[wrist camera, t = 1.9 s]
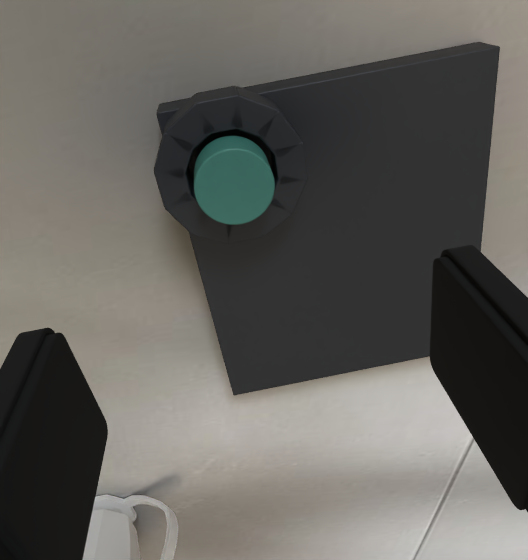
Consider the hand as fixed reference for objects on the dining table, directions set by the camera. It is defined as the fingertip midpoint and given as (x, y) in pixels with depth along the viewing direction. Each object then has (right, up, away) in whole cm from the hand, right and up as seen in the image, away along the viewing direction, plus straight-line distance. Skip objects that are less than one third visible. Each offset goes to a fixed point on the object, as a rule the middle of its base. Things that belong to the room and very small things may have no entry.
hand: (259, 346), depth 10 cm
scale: (+4, +4, +15) cm, 16 cm away
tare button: (-1, +6, +9) cm, 11 cm away
